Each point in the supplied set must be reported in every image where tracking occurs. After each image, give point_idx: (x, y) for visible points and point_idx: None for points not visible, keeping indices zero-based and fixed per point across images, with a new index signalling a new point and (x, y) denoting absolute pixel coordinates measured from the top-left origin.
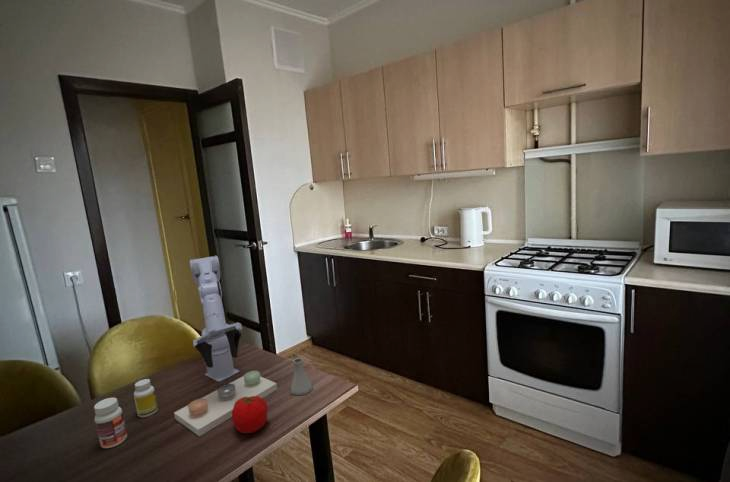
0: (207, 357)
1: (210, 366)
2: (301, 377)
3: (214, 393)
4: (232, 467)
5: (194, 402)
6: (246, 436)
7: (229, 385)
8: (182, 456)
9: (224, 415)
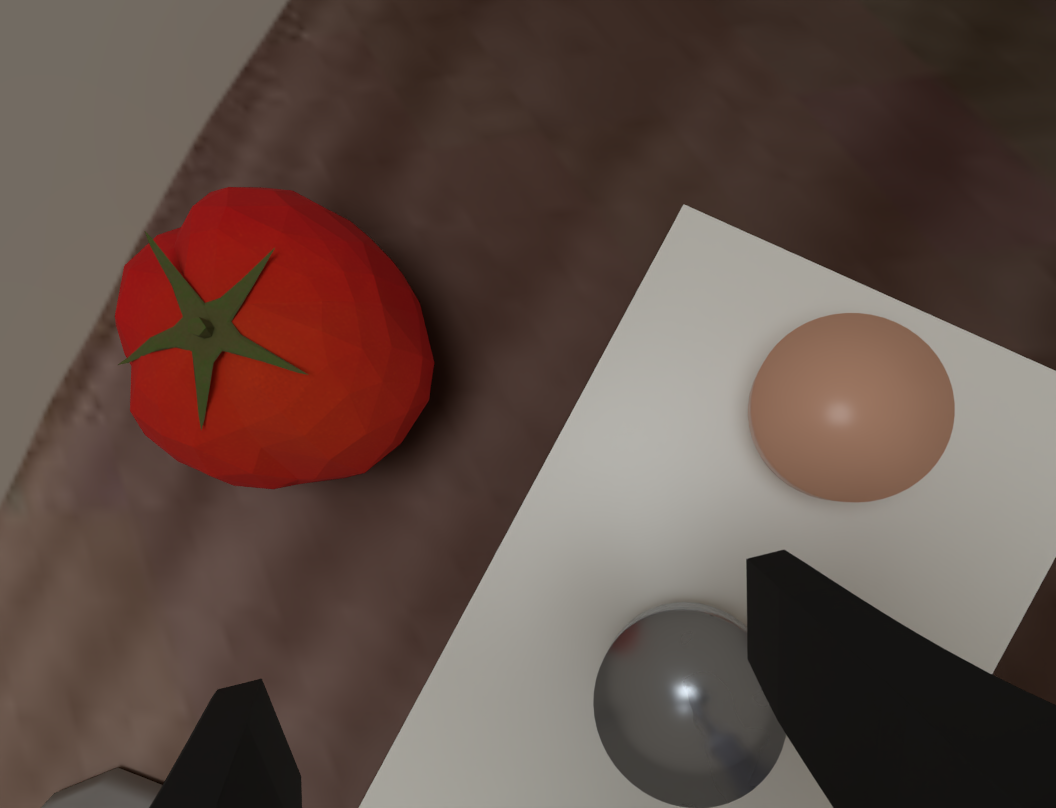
0: (854, 689)
1: (749, 595)
2: None
3: None
4: (293, 12)
5: (906, 424)
6: None
7: (680, 767)
8: (677, 28)
9: (571, 416)
